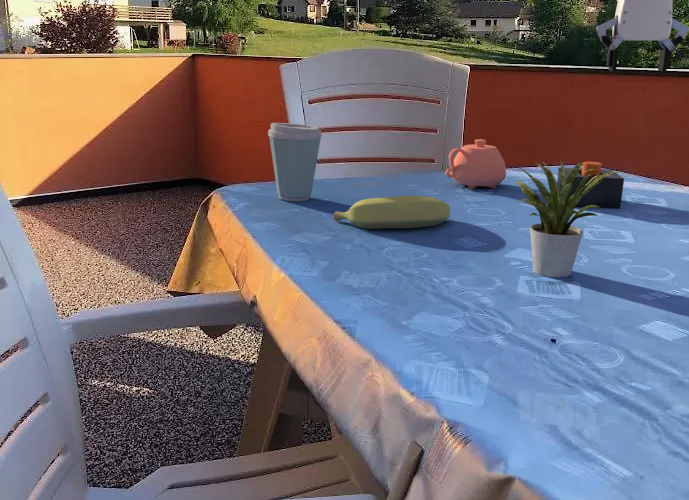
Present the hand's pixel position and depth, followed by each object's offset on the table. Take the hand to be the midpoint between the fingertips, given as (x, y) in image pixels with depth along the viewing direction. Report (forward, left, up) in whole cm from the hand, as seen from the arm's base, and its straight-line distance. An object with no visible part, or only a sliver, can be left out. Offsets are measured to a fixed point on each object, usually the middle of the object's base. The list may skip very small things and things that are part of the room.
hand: (637, 71), depth 141 cm
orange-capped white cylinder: (+8, +5, -26) cm, 27 cm away
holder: (+8, +5, -26) cm, 28 cm away
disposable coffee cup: (+67, +13, -26) cm, 73 cm away
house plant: (+22, +53, -26) cm, 63 cm away
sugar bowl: (+30, -8, -26) cm, 41 cm away
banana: (+47, +30, -26) cm, 61 cm away
